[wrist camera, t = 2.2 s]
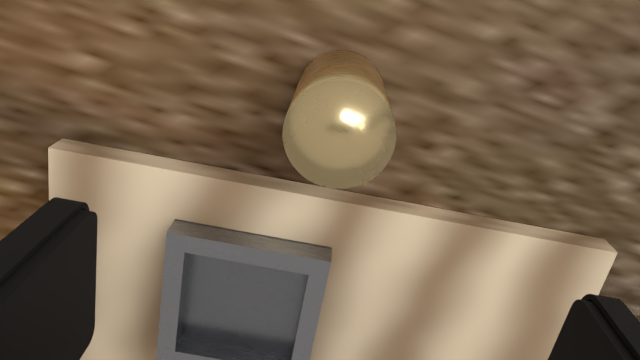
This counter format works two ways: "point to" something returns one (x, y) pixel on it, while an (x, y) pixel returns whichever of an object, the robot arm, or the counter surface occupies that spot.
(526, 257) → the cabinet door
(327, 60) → the hinge barrel
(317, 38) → the counter surface
